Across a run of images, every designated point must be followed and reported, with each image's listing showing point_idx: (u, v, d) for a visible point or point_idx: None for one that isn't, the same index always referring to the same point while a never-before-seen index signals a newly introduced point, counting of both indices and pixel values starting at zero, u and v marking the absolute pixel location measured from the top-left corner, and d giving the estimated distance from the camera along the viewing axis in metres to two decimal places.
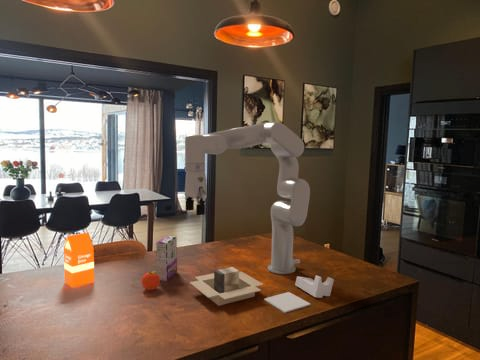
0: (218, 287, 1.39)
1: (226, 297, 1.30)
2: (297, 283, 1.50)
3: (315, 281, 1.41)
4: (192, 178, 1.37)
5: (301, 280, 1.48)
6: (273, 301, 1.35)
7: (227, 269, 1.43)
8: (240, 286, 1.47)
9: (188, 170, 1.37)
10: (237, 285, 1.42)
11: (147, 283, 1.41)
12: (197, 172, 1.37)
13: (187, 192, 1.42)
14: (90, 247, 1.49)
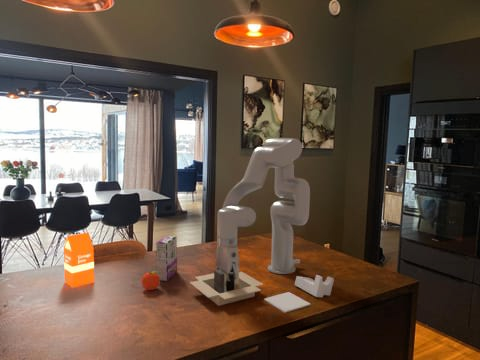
0: (218, 287, 1.39)
1: (226, 297, 1.30)
2: (297, 283, 1.50)
3: (316, 281, 1.41)
4: (225, 253, 1.37)
5: (301, 280, 1.48)
6: (273, 301, 1.35)
7: None
8: (240, 286, 1.47)
9: (221, 245, 1.38)
10: (237, 285, 1.42)
11: (147, 283, 1.41)
12: (230, 248, 1.37)
13: (218, 265, 1.42)
14: (90, 247, 1.49)
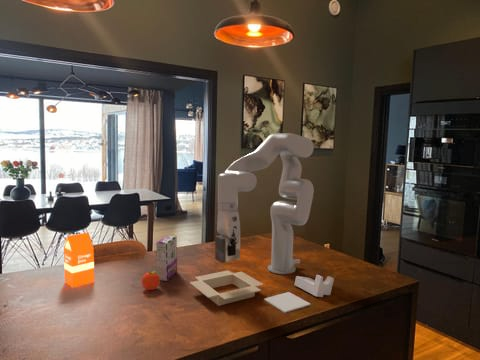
0: (220, 252, 1.38)
1: (226, 297, 1.30)
2: (296, 283, 1.50)
3: (316, 280, 1.41)
4: (226, 218, 1.36)
5: (301, 280, 1.48)
6: (273, 301, 1.35)
7: None
8: (240, 286, 1.47)
9: (222, 209, 1.36)
10: (238, 250, 1.41)
11: (147, 283, 1.41)
12: (231, 212, 1.36)
13: (219, 230, 1.41)
14: (90, 247, 1.49)
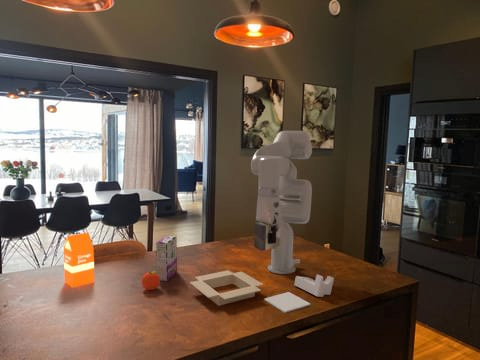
0: (259, 240, 1.33)
1: (226, 297, 1.30)
2: (296, 283, 1.50)
3: (316, 280, 1.42)
4: (267, 203, 1.30)
5: (301, 280, 1.48)
6: (273, 301, 1.35)
7: None
8: (240, 286, 1.47)
9: (263, 195, 1.31)
10: (278, 238, 1.35)
11: (147, 283, 1.41)
12: (272, 197, 1.30)
13: (259, 217, 1.36)
14: (90, 247, 1.49)
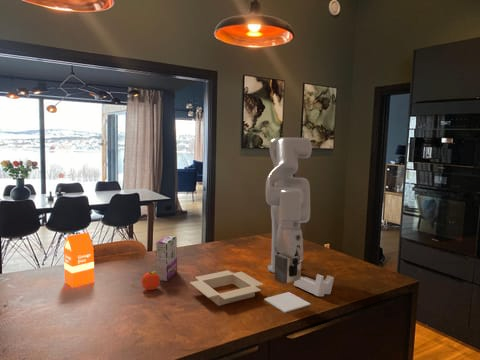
0: (281, 273, 1.31)
1: (226, 297, 1.30)
2: (296, 283, 1.50)
3: (317, 280, 1.42)
4: (289, 236, 1.29)
5: (301, 280, 1.48)
6: (273, 301, 1.35)
7: None
8: (240, 286, 1.47)
9: (284, 228, 1.30)
10: (299, 271, 1.34)
11: (147, 283, 1.41)
12: (294, 230, 1.29)
13: (279, 249, 1.34)
14: (90, 247, 1.49)
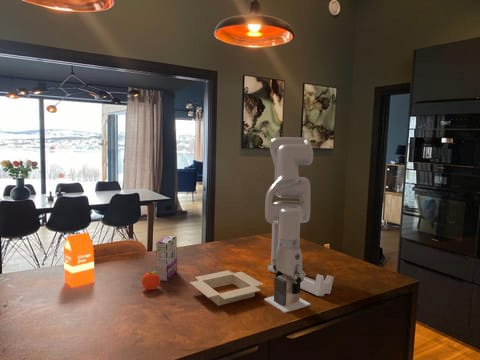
0: (280, 295, 1.32)
1: (226, 297, 1.30)
2: None
3: (317, 280, 1.42)
4: (289, 255, 1.30)
5: None
6: (273, 301, 1.35)
7: (287, 275, 1.36)
8: (240, 286, 1.47)
9: (284, 247, 1.30)
10: None
11: (147, 283, 1.42)
12: (294, 249, 1.30)
13: (279, 267, 1.35)
14: (90, 247, 1.49)
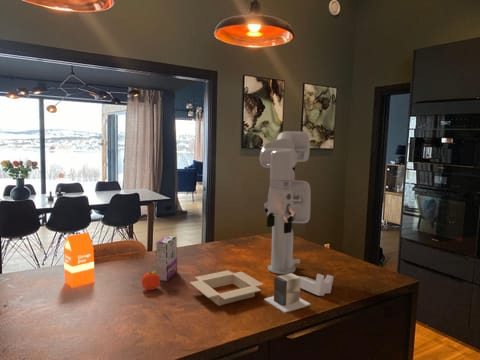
0: (280, 295, 1.32)
1: (226, 297, 1.30)
2: None
3: (317, 280, 1.42)
4: (280, 196, 1.33)
5: (300, 280, 1.48)
6: (273, 301, 1.35)
7: (287, 275, 1.36)
8: (240, 286, 1.47)
9: (275, 187, 1.33)
10: (298, 292, 1.35)
11: (147, 283, 1.42)
12: (285, 189, 1.32)
13: (271, 209, 1.38)
14: (90, 247, 1.49)
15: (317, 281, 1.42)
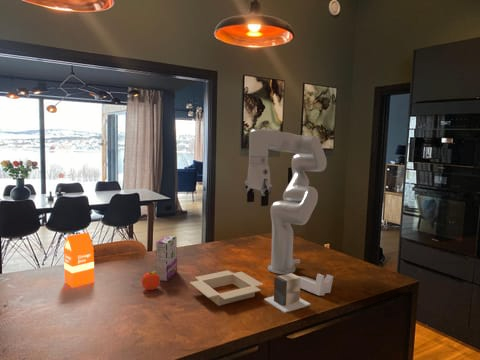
0: (280, 295, 1.32)
1: (226, 297, 1.30)
2: None
3: (317, 279, 1.42)
4: (257, 171, 1.44)
5: (300, 279, 1.48)
6: (273, 301, 1.35)
7: (287, 275, 1.36)
8: (240, 286, 1.47)
9: (253, 163, 1.44)
10: (298, 292, 1.35)
11: (147, 283, 1.42)
12: (262, 165, 1.43)
13: (250, 184, 1.49)
14: (90, 247, 1.49)
15: (317, 281, 1.42)
